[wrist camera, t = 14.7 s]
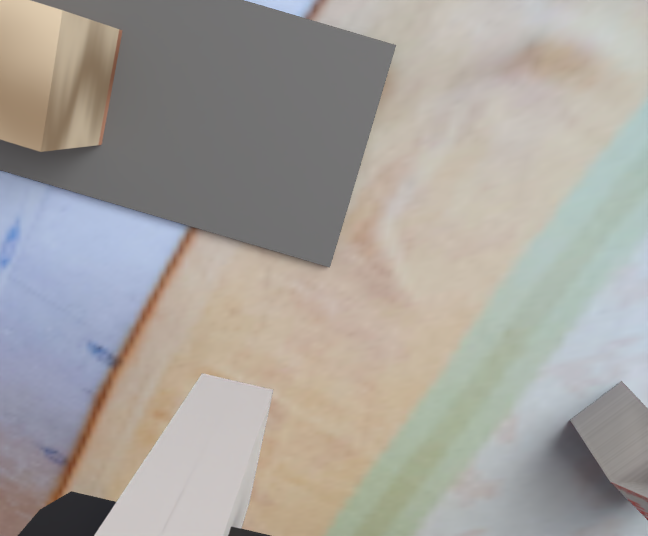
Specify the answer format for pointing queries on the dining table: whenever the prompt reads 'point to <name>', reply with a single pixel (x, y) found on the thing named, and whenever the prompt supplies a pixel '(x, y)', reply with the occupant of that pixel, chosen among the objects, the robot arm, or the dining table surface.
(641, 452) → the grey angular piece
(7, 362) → the dining table surface
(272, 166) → the mat
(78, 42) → the cube
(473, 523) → the dining table surface
